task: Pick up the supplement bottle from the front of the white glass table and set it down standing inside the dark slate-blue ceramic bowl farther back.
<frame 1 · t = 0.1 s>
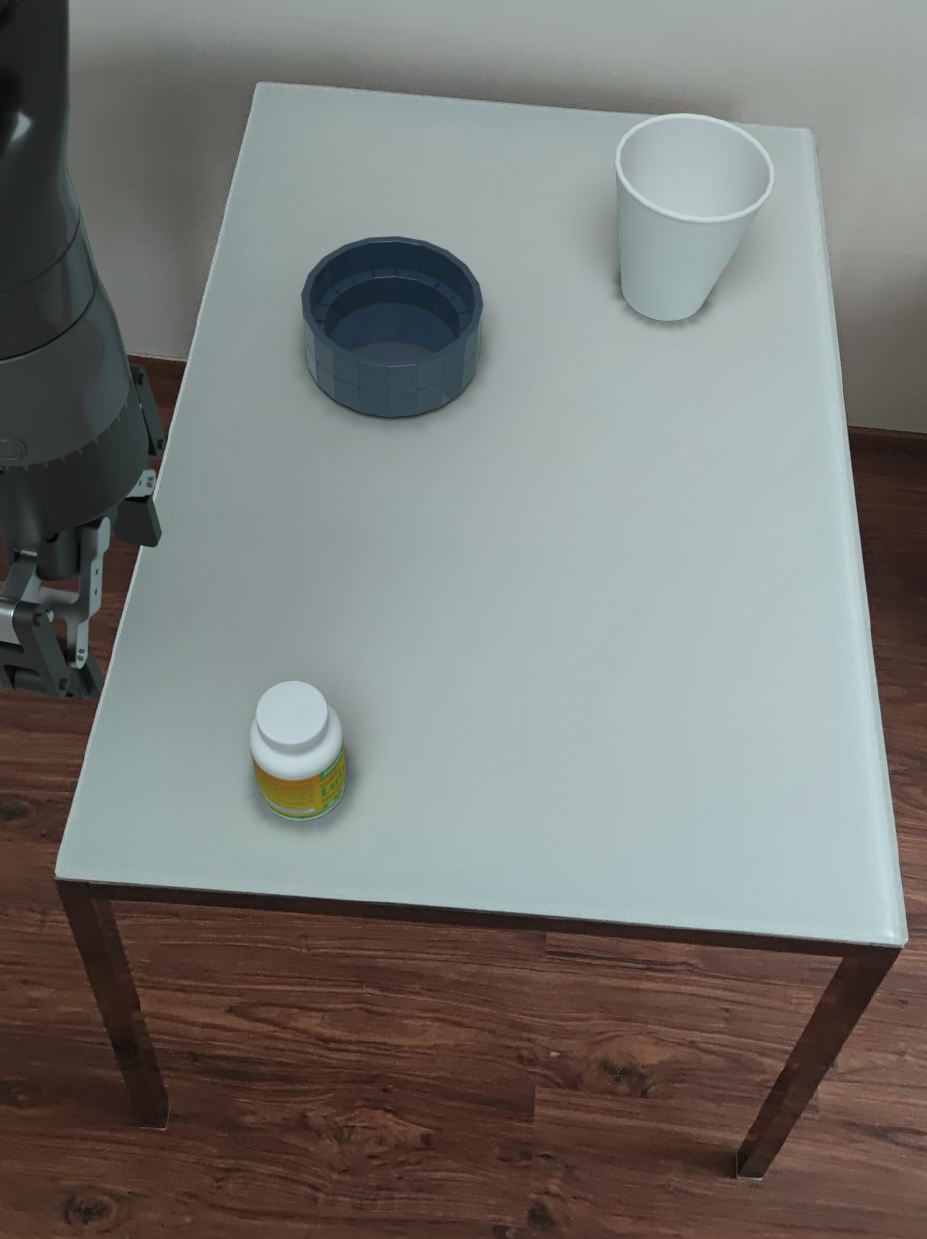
hand: (111, 611, 58), 20 cm above the table, tool pointing down, fingers open, 8 cm apart
bowl: (392, 356, 94), on the table
cup: (662, 292, 100), on the table
supplement bottle: (302, 783, 76), on the table
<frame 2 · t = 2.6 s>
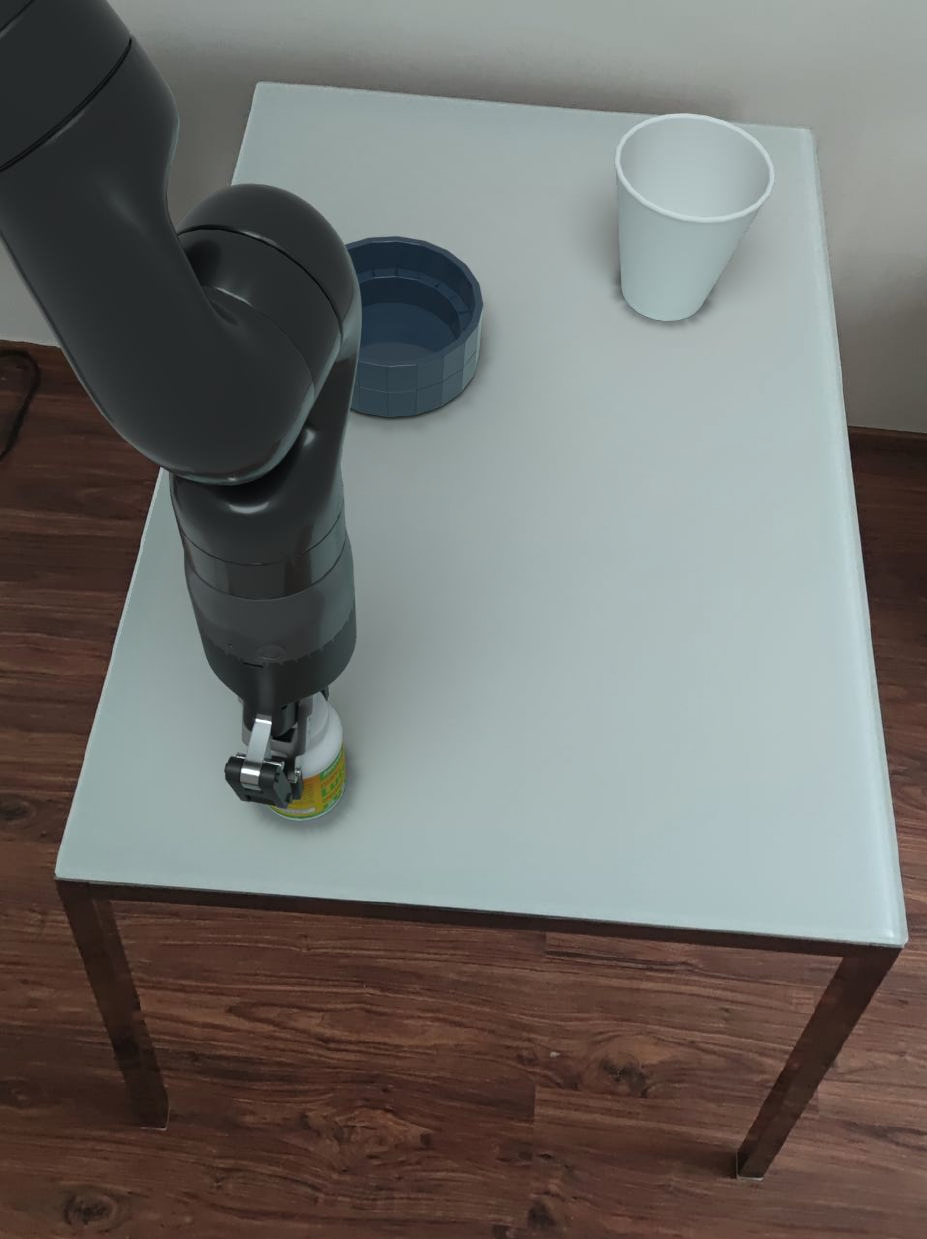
hand: (297, 744, 71), 5 cm above the table, tool pointing down, fingers closed on supplement bottle, 5 cm apart
supplement bottle: (302, 783, 76), on the table, touching gripper
everything else where it was.
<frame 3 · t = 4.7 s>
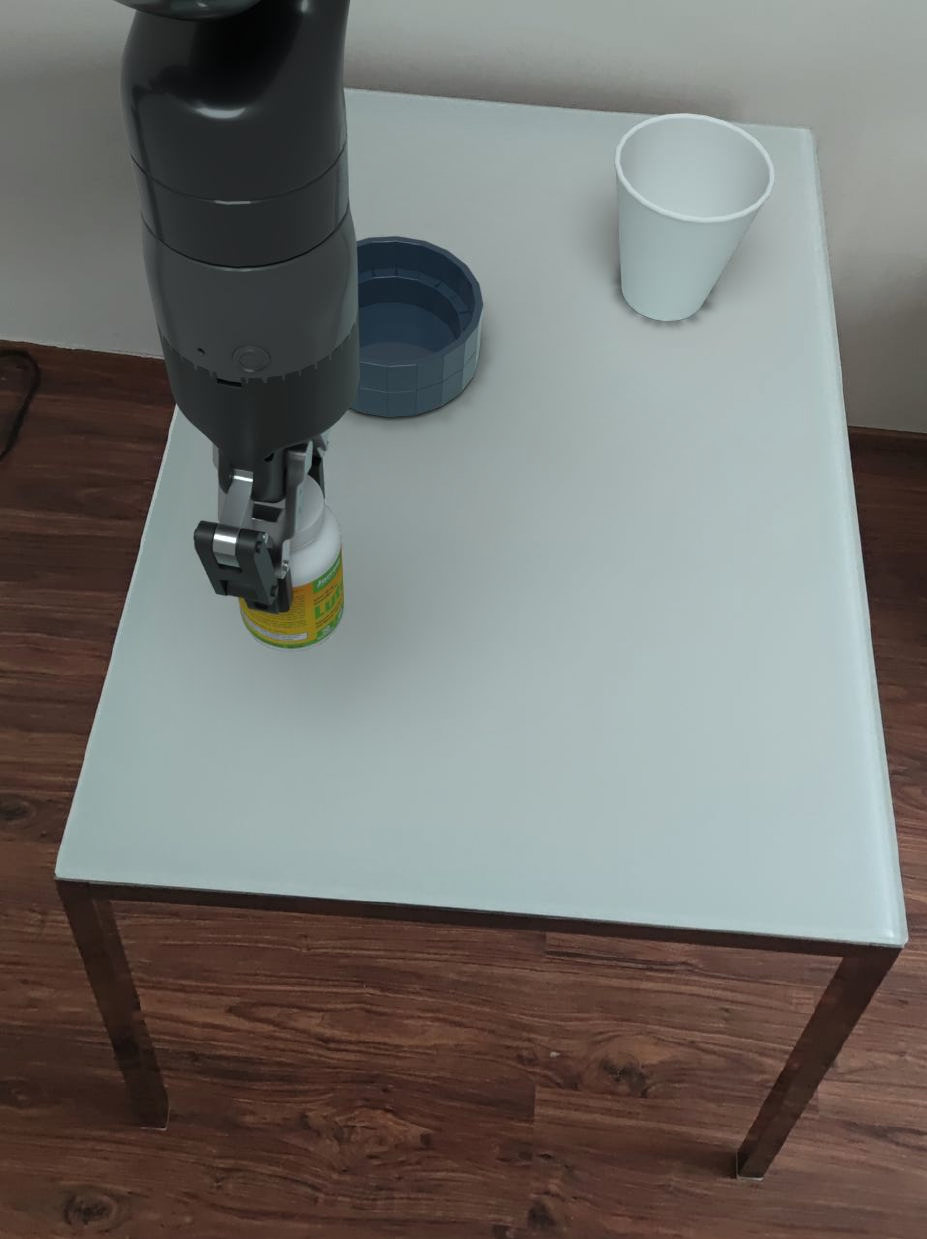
hand: (286, 552, 59), 21 cm above the table, tool pointing down, fingers closed on supplement bottle, 5 cm apart
supplement bottle: (293, 613, 64), point 15 cm above the table, touching gripper
everything else where it was.
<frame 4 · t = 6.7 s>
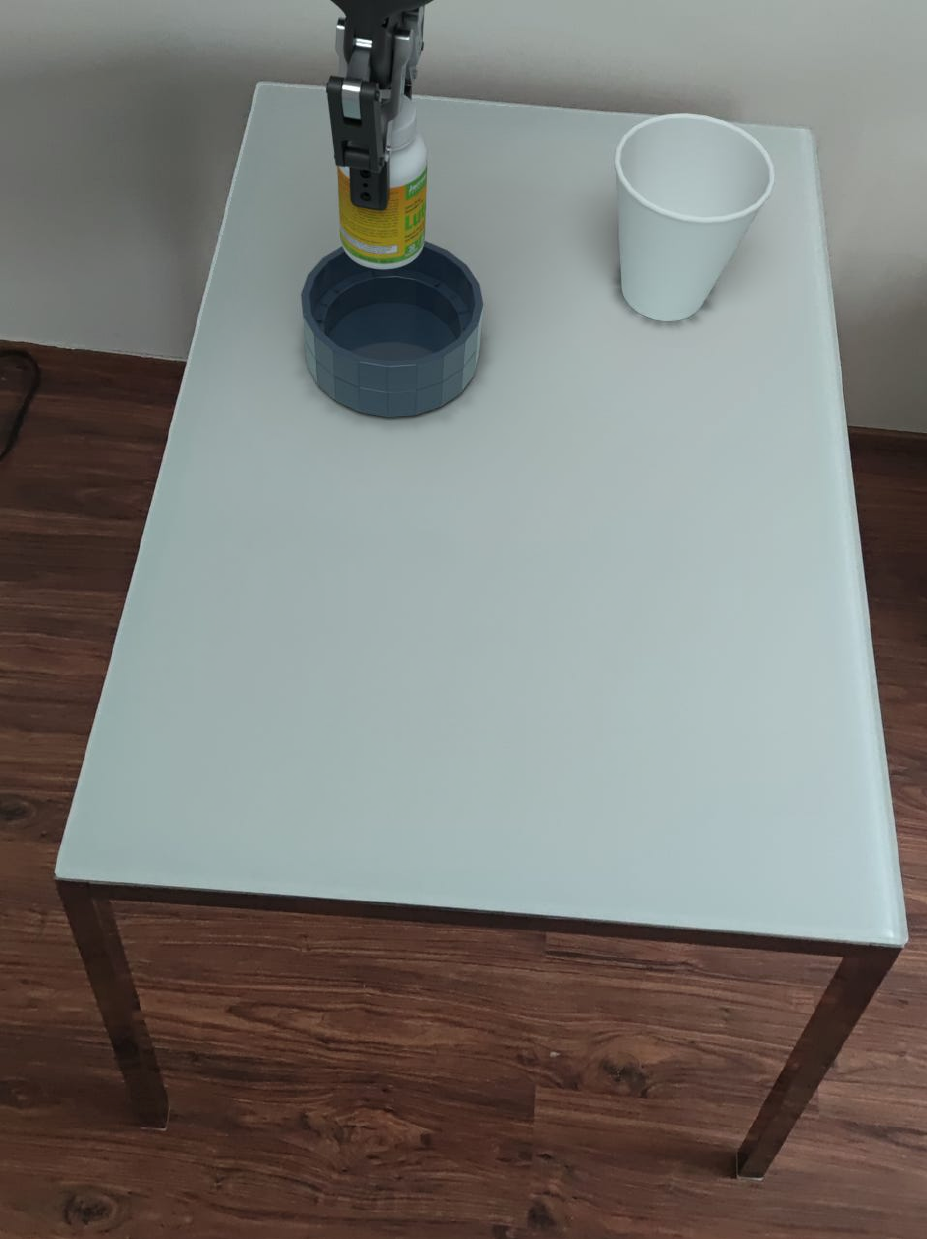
hand: (381, 171, 73), 21 cm above the table, tool pointing down, fingers closed on supplement bottle, 5 cm apart
supplement bottle: (382, 245, 78), point 16 cm above the table, touching gripper
everything else where it was.
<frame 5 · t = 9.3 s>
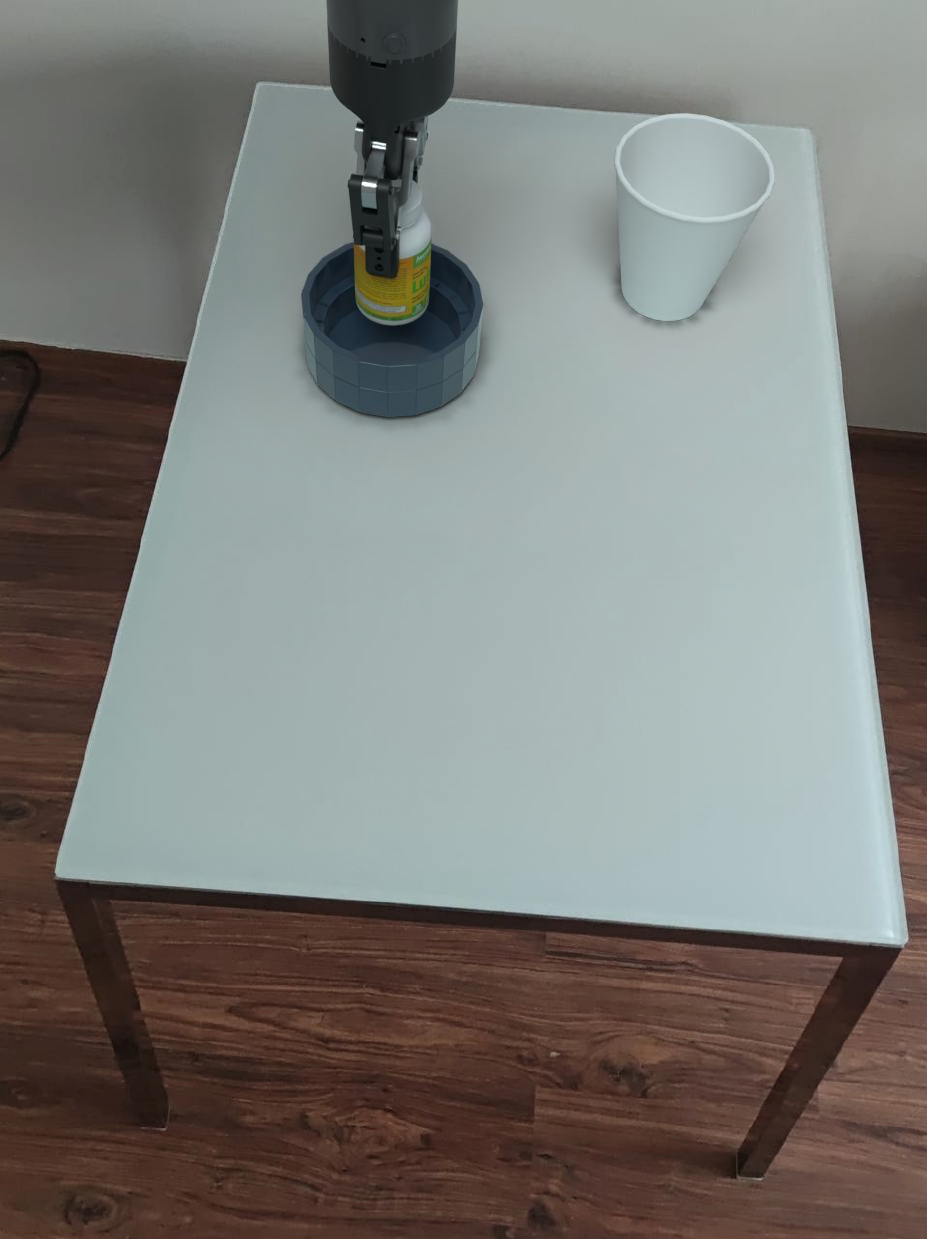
hand: (391, 242, 85), 11 cm above the table, tool pointing down, fingers closed on supplement bottle, 5 cm apart
supplement bottle: (392, 303, 89), point 6 cm above the table, touching gripper
everything else where it was.
when the fingers open (6 cm above the table, at t = 11.1 s): supplement bottle stays where it is, resting on bowl.
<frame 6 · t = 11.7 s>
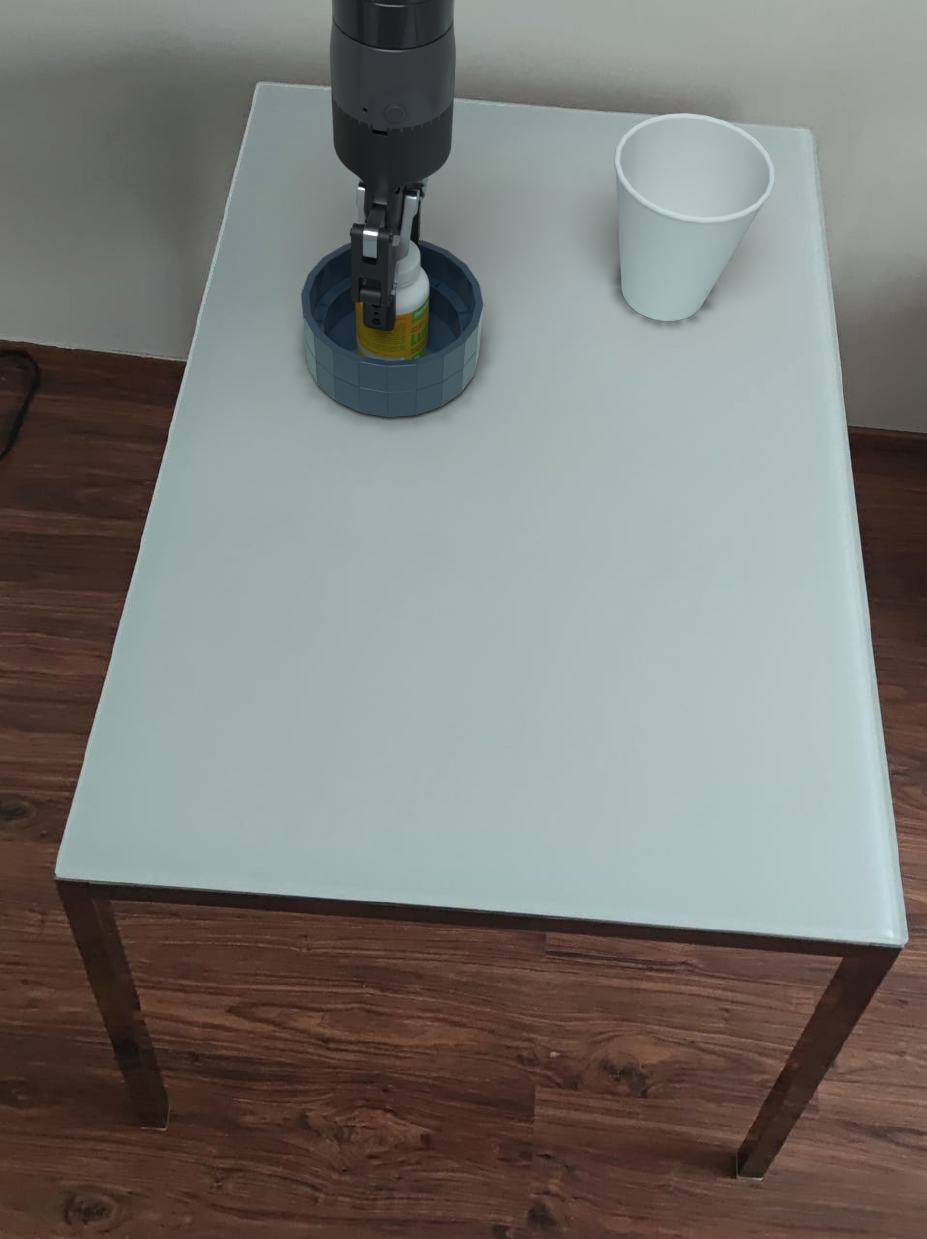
hand: (392, 284, 88), 7 cm above the table, tool pointing down, fingers open, 8 cm apart
supplement bottle: (392, 353, 94), resting on bowl
everything else where it was.
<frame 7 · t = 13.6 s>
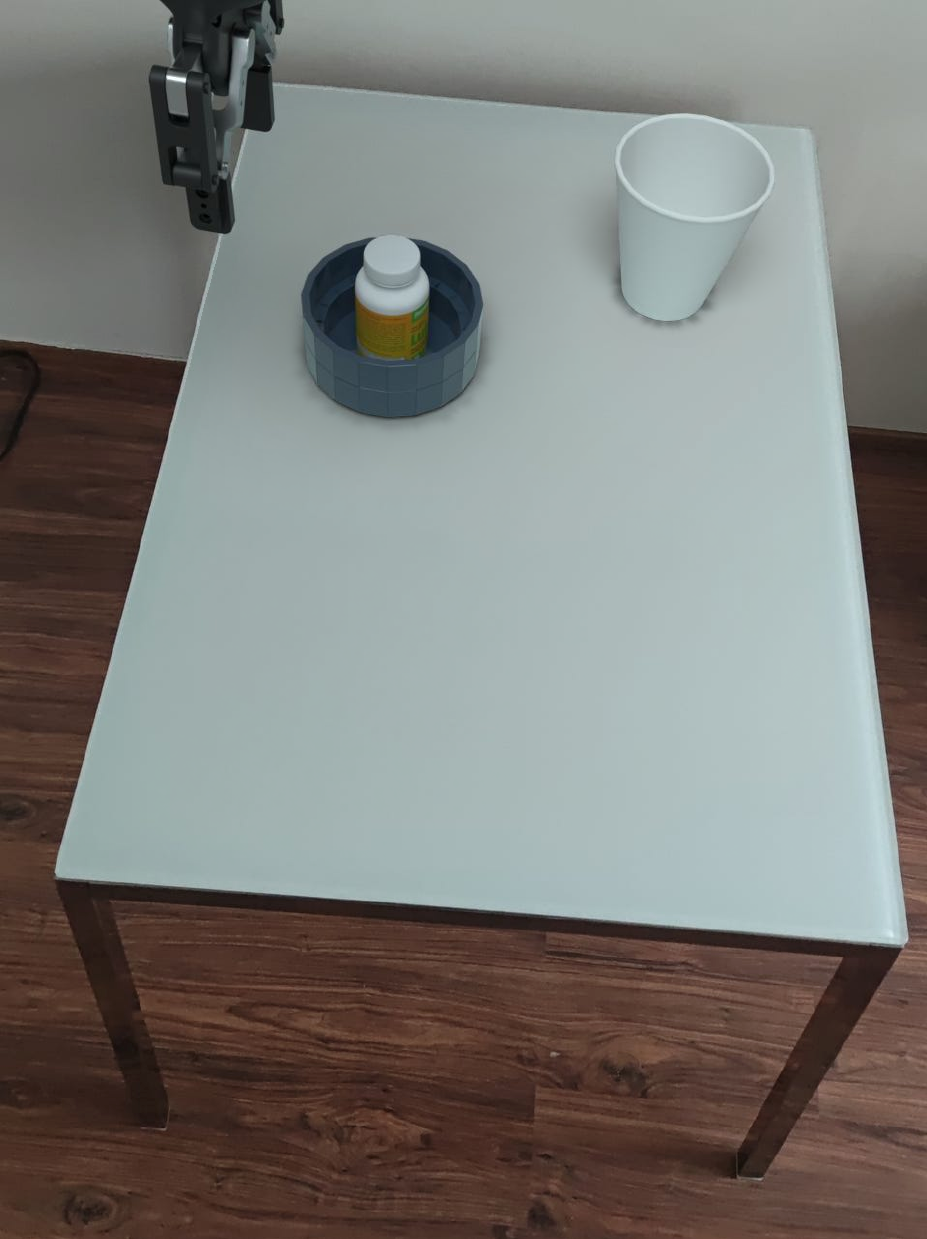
hand: (234, 175, 66), 26 cm above the table, tool pointing down, fingers open, 8 cm apart
nothing on the table moved.
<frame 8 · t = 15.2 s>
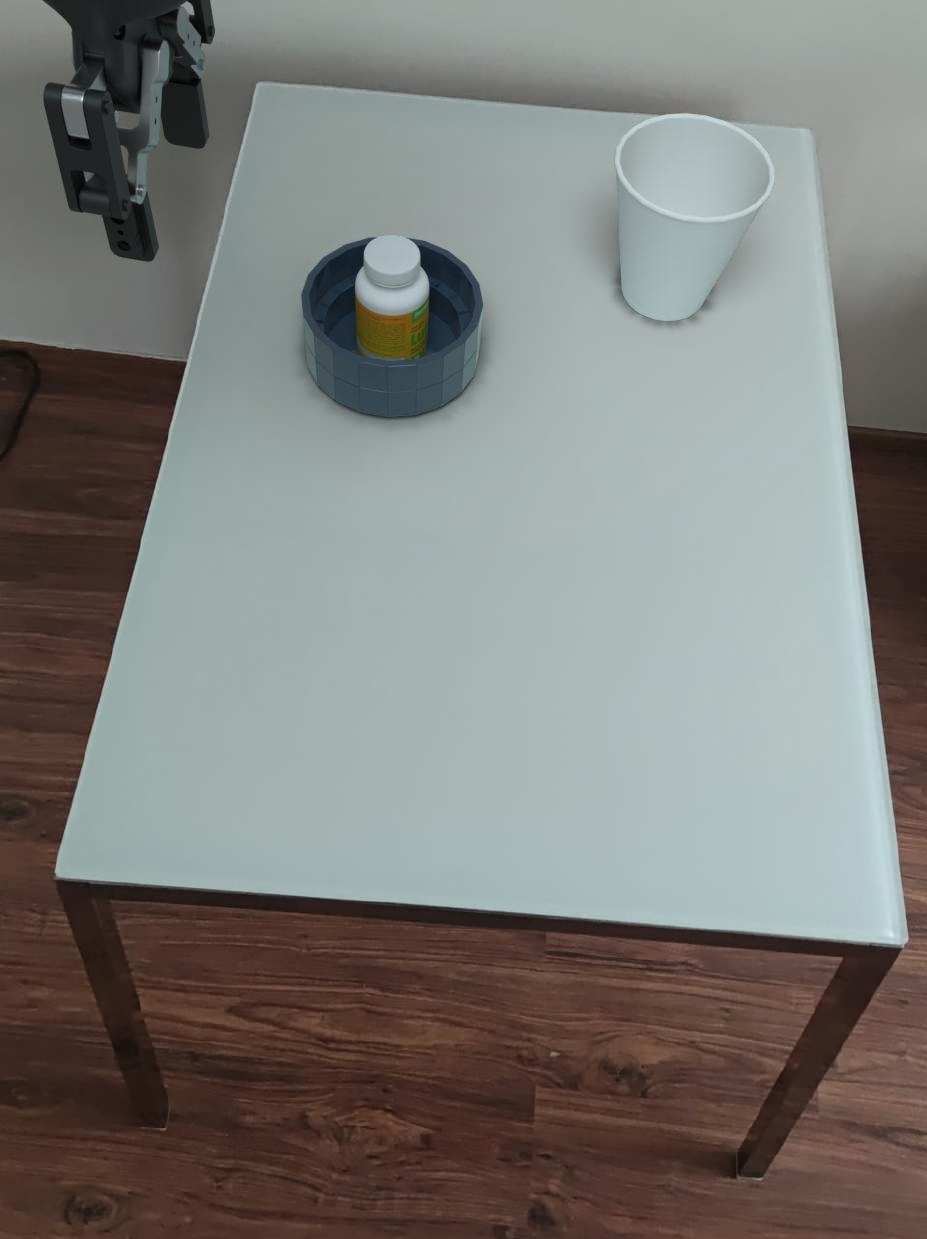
hand: (163, 197, 61), 28 cm above the table, tool pointing down, fingers open, 8 cm apart
nothing on the table moved.
at the end: supplement bottle inside the target area in the bowl (0.1 cm from its centre), point 0.4 cm above the bowl's base; the gripper is holding nothing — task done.
